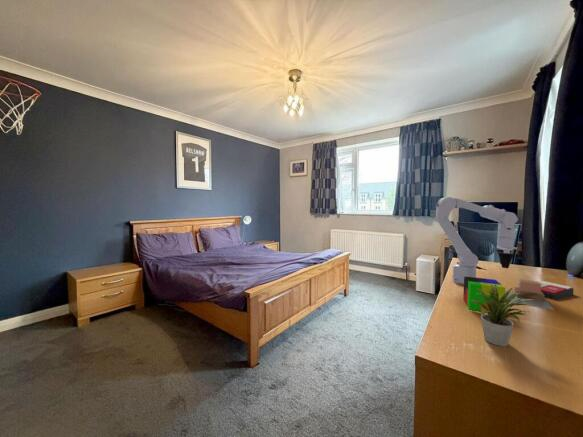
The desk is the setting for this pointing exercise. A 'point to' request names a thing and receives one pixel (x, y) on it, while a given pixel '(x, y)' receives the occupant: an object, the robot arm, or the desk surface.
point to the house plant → (499, 316)
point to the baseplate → (532, 302)
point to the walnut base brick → (529, 295)
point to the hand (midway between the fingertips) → (504, 266)
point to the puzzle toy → (472, 289)
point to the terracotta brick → (530, 286)
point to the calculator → (555, 290)
